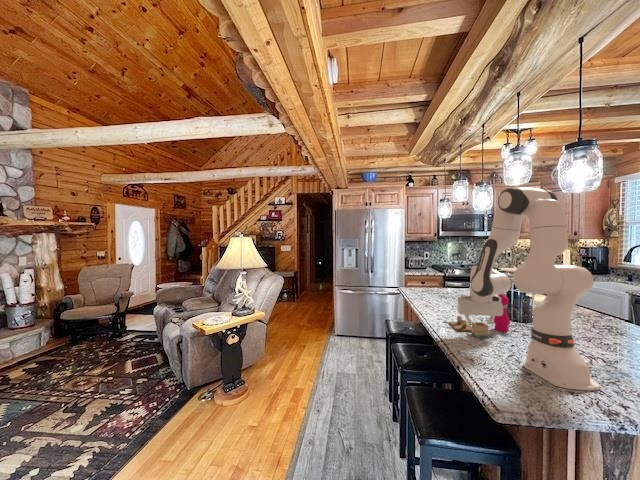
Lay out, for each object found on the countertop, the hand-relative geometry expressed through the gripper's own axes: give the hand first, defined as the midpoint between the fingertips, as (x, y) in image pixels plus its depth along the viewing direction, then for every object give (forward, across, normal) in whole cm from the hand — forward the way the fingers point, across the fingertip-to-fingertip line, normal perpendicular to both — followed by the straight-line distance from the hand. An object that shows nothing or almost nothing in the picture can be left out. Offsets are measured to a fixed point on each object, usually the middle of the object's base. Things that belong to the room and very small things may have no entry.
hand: (479, 323), depth 142 cm
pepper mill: (+6, +15, +10) cm, 19 cm away
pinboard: (+6, -5, +11) cm, 13 cm away
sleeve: (+6, 0, -1) cm, 6 cm away
